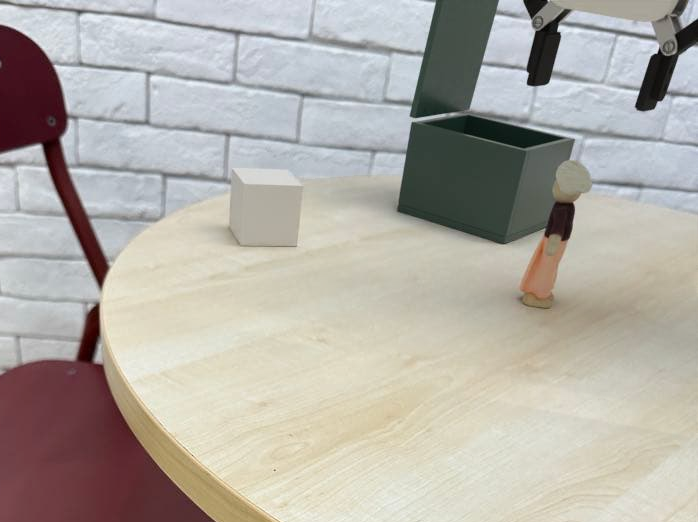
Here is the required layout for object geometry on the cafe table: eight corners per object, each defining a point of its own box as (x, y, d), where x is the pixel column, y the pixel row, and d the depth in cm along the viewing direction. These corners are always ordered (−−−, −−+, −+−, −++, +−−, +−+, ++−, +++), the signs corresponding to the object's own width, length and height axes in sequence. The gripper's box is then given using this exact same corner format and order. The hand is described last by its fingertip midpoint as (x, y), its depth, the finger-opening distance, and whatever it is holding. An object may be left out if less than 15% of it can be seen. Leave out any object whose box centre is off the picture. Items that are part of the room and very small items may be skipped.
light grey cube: (297, 246, 88) (303, 185, 84) (240, 246, 86) (244, 184, 82) (282, 227, 92) (287, 169, 88) (228, 226, 90) (231, 167, 87)
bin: (551, 225, 104) (575, 138, 98) (503, 244, 95) (526, 151, 90) (449, 195, 110) (466, 112, 105) (396, 210, 102) (411, 121, 96)
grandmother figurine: (516, 284, 85) (551, 148, 77) (554, 291, 84) (594, 155, 77) (516, 312, 79) (555, 167, 71) (558, 319, 78) (602, 174, 71)
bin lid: (510, -41, 94) (471, -51, 96) (453, -45, 86) (412, -56, 88) (469, 109, 104) (435, 97, 106) (414, 118, 96) (378, 105, 98)
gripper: (534, -183, 62) (477, 78, 72) (777, -167, 54) (675, 124, 64) (575, -168, 67) (517, 75, 77) (803, -151, 59) (705, 116, 69)
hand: (589, 97), depth 71 cm, fingers open, 9 cm apart
